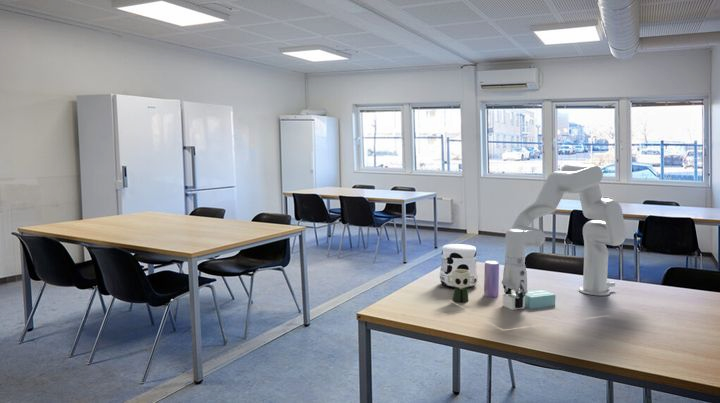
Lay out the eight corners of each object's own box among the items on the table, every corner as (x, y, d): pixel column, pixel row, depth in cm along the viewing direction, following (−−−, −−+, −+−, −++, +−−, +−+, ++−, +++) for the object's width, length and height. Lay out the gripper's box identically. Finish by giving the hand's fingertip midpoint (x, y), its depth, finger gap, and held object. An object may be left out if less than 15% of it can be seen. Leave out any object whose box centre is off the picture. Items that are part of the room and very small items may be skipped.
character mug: (448, 304, 219) (448, 272, 218) (446, 298, 226) (446, 268, 225) (475, 304, 218) (475, 273, 217) (472, 299, 225) (473, 269, 224)
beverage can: (498, 298, 226) (499, 263, 224) (484, 298, 227) (484, 263, 225) (498, 294, 232) (498, 260, 230) (483, 294, 233) (484, 260, 231)
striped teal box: (542, 300, 222) (542, 289, 222) (555, 305, 215) (555, 294, 214) (517, 303, 218) (517, 292, 218) (530, 308, 211) (530, 297, 210)
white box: (515, 303, 217) (515, 292, 216) (524, 308, 211) (525, 296, 211) (502, 305, 215) (503, 294, 214) (511, 309, 209) (512, 298, 209)
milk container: (483, 284, 249) (483, 245, 247) (469, 293, 235) (470, 252, 233) (448, 279, 258) (448, 242, 256) (433, 287, 244) (433, 248, 242)
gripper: (536, 264, 204) (535, 310, 206) (509, 255, 220) (508, 298, 222) (520, 266, 202) (518, 312, 204) (494, 257, 218) (493, 300, 220)
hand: (513, 304), depth 213 cm, fingers closed on white box, 6 cm apart
